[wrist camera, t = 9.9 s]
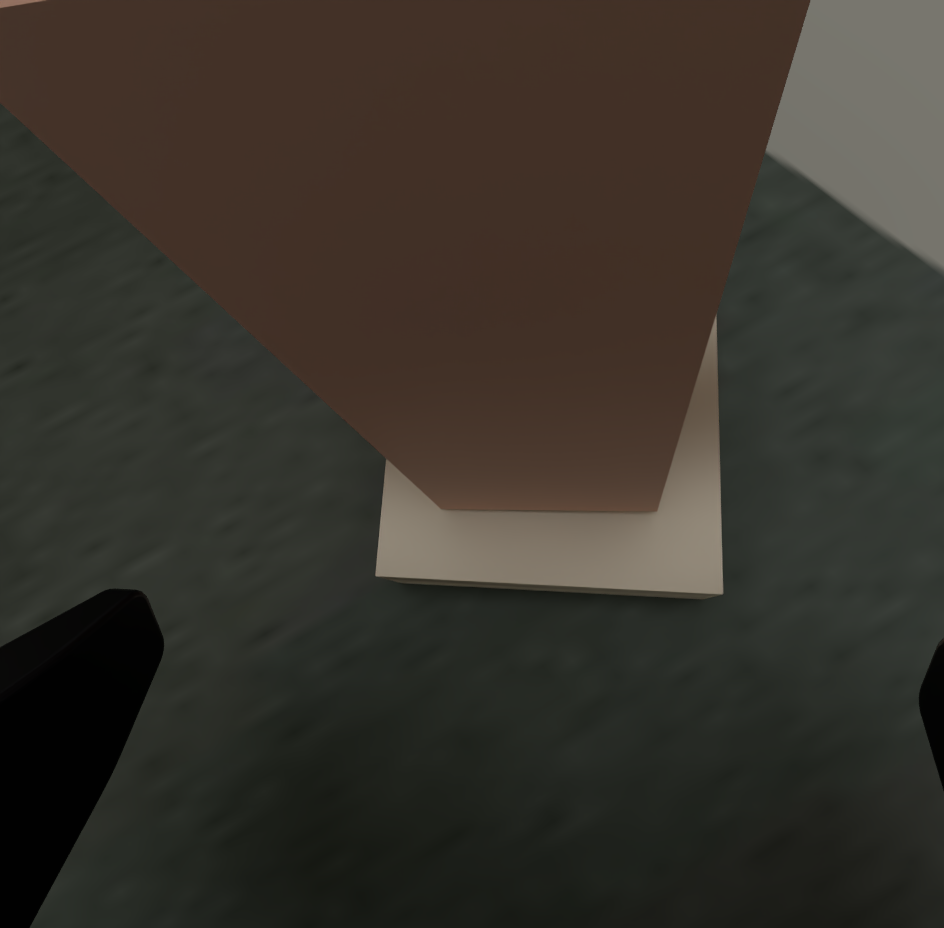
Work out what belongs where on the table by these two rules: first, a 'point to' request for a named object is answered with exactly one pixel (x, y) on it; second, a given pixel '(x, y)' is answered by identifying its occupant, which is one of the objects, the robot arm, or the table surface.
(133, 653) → the robot arm
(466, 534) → the slab
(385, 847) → the table surface
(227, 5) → the column
